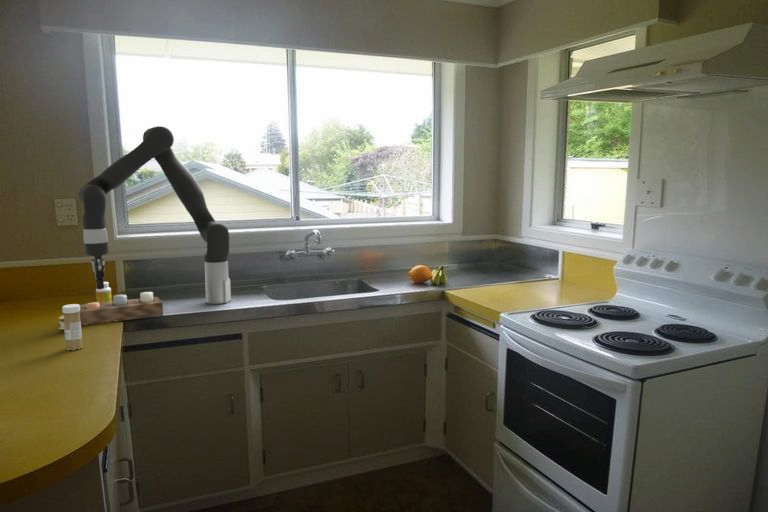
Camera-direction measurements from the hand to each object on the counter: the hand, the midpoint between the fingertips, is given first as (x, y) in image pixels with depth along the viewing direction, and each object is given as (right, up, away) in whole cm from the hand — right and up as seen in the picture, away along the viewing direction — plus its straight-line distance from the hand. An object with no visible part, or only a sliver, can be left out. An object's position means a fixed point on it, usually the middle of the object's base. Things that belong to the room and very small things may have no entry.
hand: (100, 288), depth 188 cm
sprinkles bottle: (+9, -16, -31) cm, 36 cm away
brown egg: (-2, -10, 0) cm, 11 cm away
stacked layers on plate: (-3, -14, -12) cm, 19 cm away
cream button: (+13, -7, +9) cm, 17 cm away
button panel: (+5, -11, +5) cm, 13 cm away
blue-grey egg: (+5, -8, +4) cm, 10 cm away
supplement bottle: (-9, -9, +20) cm, 24 cm away
